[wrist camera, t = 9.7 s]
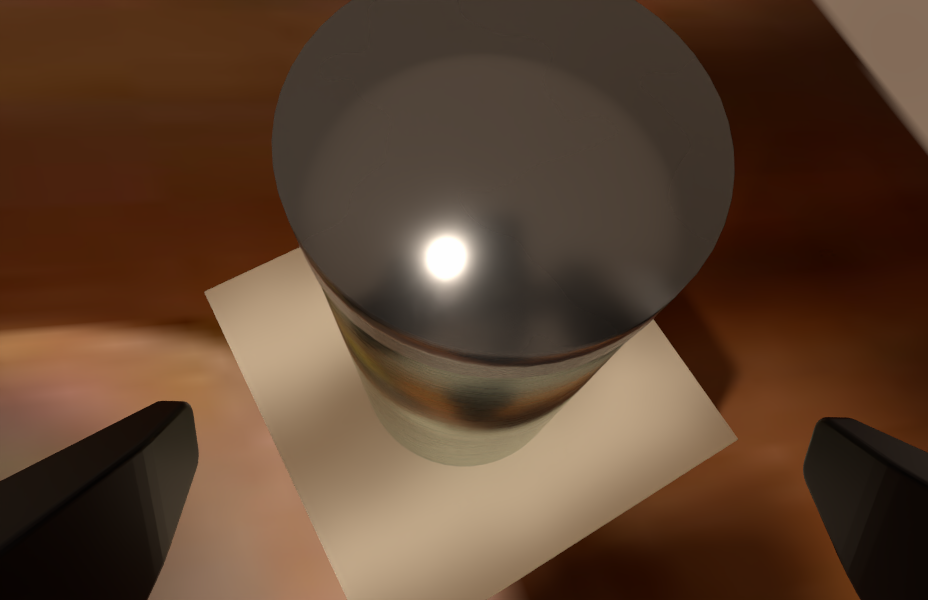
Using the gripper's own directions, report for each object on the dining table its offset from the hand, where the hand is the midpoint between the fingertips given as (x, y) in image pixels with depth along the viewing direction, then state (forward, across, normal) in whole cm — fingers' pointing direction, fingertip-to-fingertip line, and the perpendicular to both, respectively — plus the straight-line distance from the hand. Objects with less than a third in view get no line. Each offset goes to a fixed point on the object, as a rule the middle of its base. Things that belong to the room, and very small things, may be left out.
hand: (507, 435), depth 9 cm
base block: (+12, 0, +7) cm, 14 cm away
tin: (+10, 0, +4) cm, 10 cm away
